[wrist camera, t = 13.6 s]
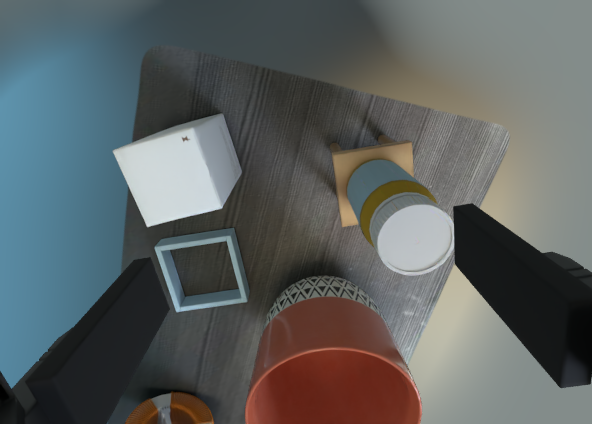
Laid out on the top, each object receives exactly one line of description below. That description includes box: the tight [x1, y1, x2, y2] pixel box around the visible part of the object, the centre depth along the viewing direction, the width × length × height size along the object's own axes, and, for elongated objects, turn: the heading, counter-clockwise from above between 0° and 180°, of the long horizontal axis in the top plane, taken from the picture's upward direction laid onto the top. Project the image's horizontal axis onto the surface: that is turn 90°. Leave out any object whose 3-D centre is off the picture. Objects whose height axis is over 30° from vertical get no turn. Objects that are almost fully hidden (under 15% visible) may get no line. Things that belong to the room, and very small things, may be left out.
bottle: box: [347, 159, 454, 275], centre depth 34 cm, size 7×7×15 cm
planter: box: [245, 275, 422, 424], centre depth 49 cm, size 20×20×21 cm
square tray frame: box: [154, 228, 250, 312], centre depth 55 cm, size 12×12×3 cm
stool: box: [330, 135, 414, 227], centre depth 46 cm, size 9×9×10 cm
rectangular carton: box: [113, 113, 242, 227], centre depth 43 cm, size 9×9×15 cm
